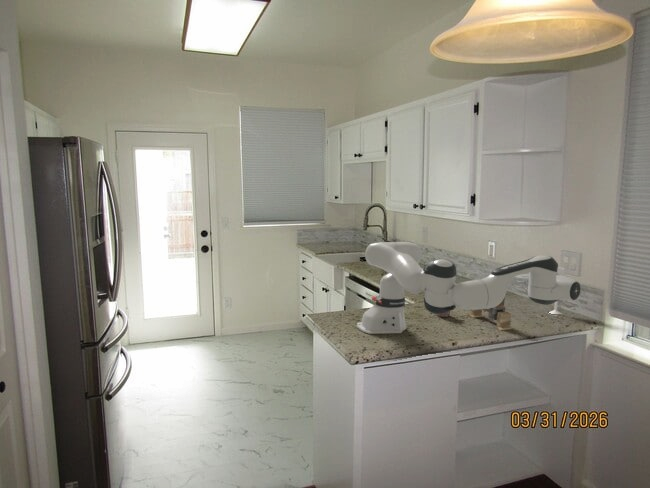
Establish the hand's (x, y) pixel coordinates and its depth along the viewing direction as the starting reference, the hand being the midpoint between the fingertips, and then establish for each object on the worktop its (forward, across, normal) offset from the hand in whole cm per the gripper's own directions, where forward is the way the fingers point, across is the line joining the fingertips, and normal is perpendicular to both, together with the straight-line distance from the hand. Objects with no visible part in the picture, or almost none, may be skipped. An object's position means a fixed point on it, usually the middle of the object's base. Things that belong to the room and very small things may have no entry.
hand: (518, 275), depth 194 cm
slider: (+12, 0, -23) cm, 26 cm away
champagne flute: (+20, +44, -26) cm, 55 cm away
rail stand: (+17, 0, -26) cm, 31 cm away
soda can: (+32, -16, -26) cm, 44 cm away
